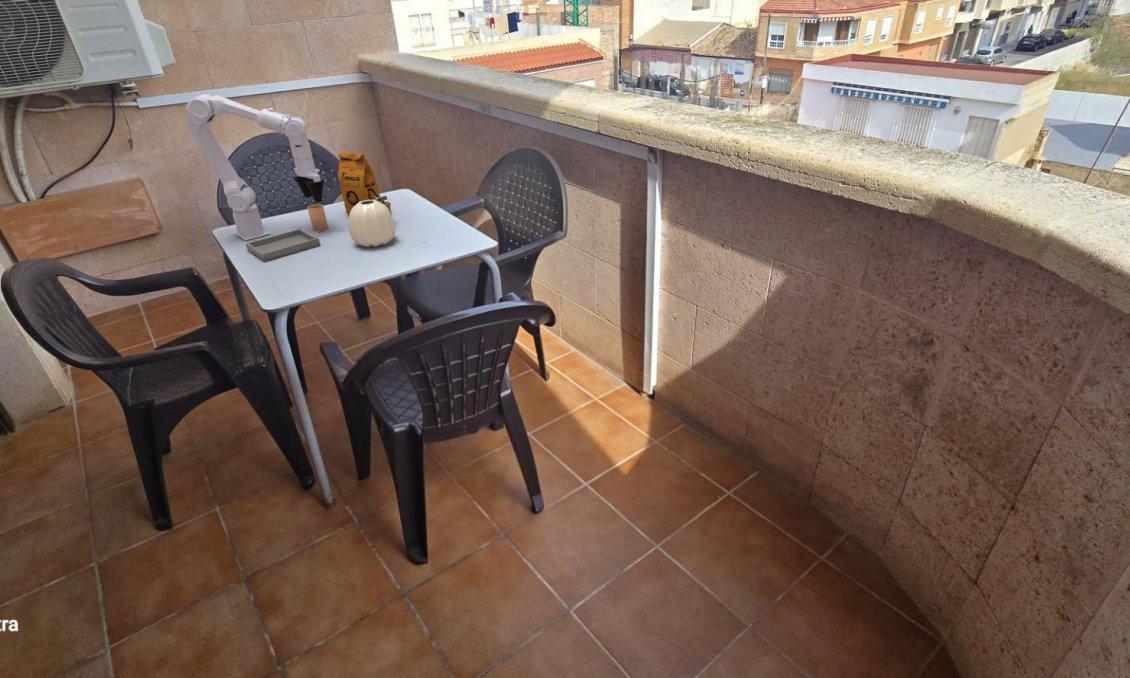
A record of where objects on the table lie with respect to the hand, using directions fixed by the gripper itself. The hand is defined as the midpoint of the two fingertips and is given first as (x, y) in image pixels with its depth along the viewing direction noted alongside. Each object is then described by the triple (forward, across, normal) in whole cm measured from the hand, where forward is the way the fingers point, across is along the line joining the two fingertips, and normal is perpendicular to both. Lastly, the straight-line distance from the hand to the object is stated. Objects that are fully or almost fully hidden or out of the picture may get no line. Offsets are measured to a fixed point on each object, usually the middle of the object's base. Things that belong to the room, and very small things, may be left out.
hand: (313, 199), depth 192 cm
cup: (+10, 0, 0) cm, 10 cm away
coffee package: (+11, +2, -18) cm, 21 cm away
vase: (+11, -26, -6) cm, 29 cm away
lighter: (+11, -14, -16) cm, 24 cm away
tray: (+10, -8, +16) cm, 21 cm away
